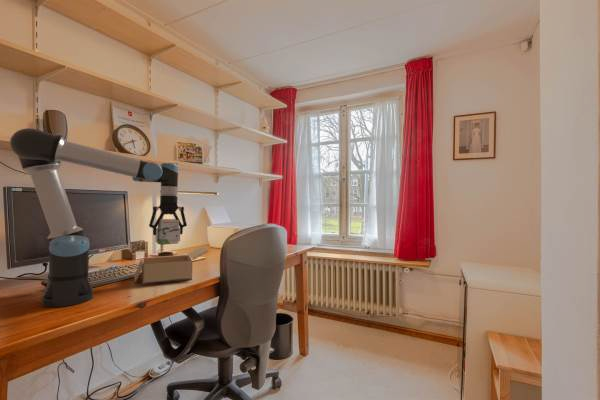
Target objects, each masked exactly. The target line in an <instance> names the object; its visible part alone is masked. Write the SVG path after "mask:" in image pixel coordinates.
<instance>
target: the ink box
mask: <svg viewBox="0 0 600 400" xmlns="http://www.w3.org/2000/svg"><path fill="white" fill-rule="evenodd" d="M179 220H180V219H179ZM179 220H176V219H175V218H162V219H161V220H160V222H159V224H158V226H157V228H158V242H156V244H157V245H160V246H163V245H176V244H179V241H178V238H179V228H180V226H179Z"/></svg>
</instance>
